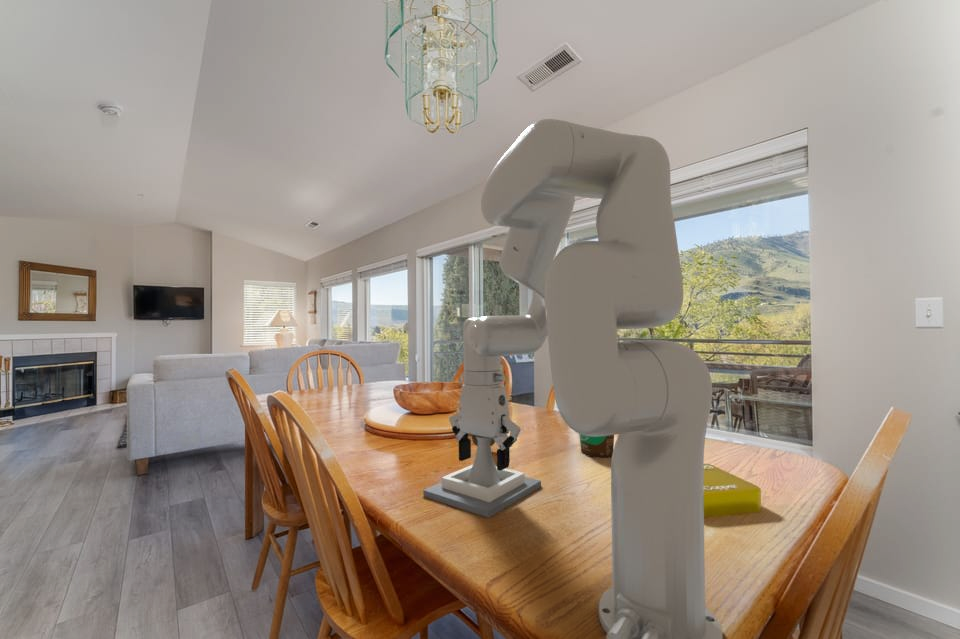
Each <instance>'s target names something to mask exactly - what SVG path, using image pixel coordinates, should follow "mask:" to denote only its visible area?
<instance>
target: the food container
mask: <svg viewBox="0 0 960 639" xmlns="http://www.w3.org/2000/svg"><path fill="white" fill-rule="evenodd" d="M578 434H579V433H578ZM579 443H580V452H581V454H583V455H584V454H585V456H587V455H588V457H592V458H597V457H599V459H610V458H612V455H613V450H614V446H615V435H608V436H599V437H592V436H585V435H582V434H579ZM609 457H610V458H609Z"/></svg>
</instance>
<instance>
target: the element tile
mask: <svg viewBox="0 0 960 639" xmlns="http://www.w3.org/2000/svg"><path fill="white" fill-rule="evenodd" d="M761 511H762V489H761V487H759V486H758V485H757V484H756V485H755V484H754V483H751V482H750V481H747V480H745V479H743V478H741V477H739V476H737V475H735V474H732V473H730V472H727V471H725V470H724V469H722V468H719V467H717V466H715V465H712V464H711V463H710V464H709V463H704V518H712V517H713V518H714V517H723V516H734V515H745V514H754V513H760V512H761Z"/></svg>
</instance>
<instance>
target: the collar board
mask: <svg viewBox="0 0 960 639" xmlns="http://www.w3.org/2000/svg"><path fill="white" fill-rule="evenodd" d="M472 466H473V464H471V465H468V466H466V467H463V468H462V469H459V470H456V471H454V472H451V473H449V474H446V475H445V476H443V477H441V482H439V483H437V484H434V485H431V486H430V487H427V488H425V489H423V492H422V494H423V497H425V498H428V499H431V500H434V501H437V502H440V503H442V504H445V505H449V506H452V507H454V508H457V509H461V510H463V511H466V512H470V513H472V514H475V515H477V516H481V517H483V518H486V519H487V518H488V519H489V518H491V517H494V516H495V515H496V514H498V513H499V512H501V511H502V510H505V509H506V508H507V507H510V506H511V505H513V504H514V503H516V502H518V501H519V500H521V499H522V498H525V497H526V496H527V495H529V494H532V493H533V492H534V491H536V490H538V489H539V488H542V480H539V479H536V478H532V477H528V476H526V475H525V472H522V471H517V470H513V469H509V468H505V469H503V470H501V471H500V470H498V469H497V465H495V466H496V469H497V472H498V475H499V477H500V480H501V482H499V483H497V484H495V485H493V486H491V487H489V488H487V487H483V486H480V485H476V484H473V483H469V482H467V481H468V478H469V475H470V472H471V469H472ZM537 488H538V489H537ZM532 491H533V492H532ZM504 508H505V509H504Z"/></svg>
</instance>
